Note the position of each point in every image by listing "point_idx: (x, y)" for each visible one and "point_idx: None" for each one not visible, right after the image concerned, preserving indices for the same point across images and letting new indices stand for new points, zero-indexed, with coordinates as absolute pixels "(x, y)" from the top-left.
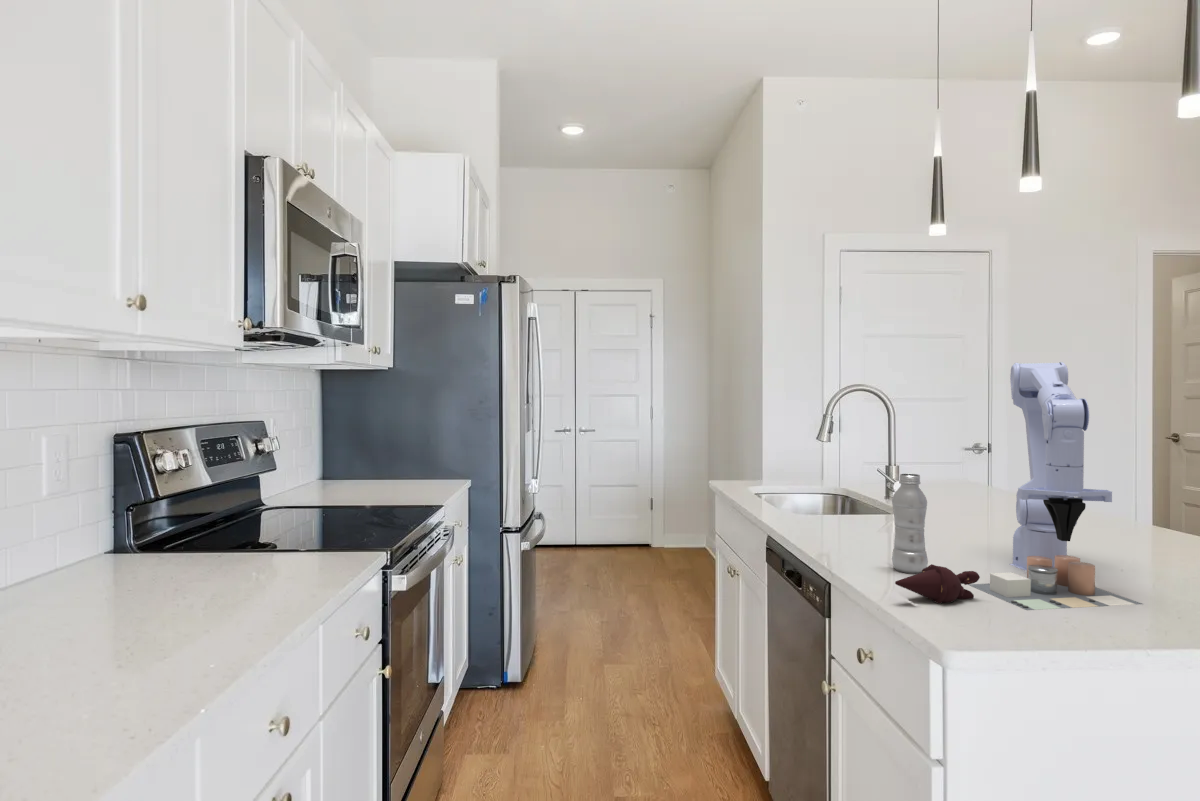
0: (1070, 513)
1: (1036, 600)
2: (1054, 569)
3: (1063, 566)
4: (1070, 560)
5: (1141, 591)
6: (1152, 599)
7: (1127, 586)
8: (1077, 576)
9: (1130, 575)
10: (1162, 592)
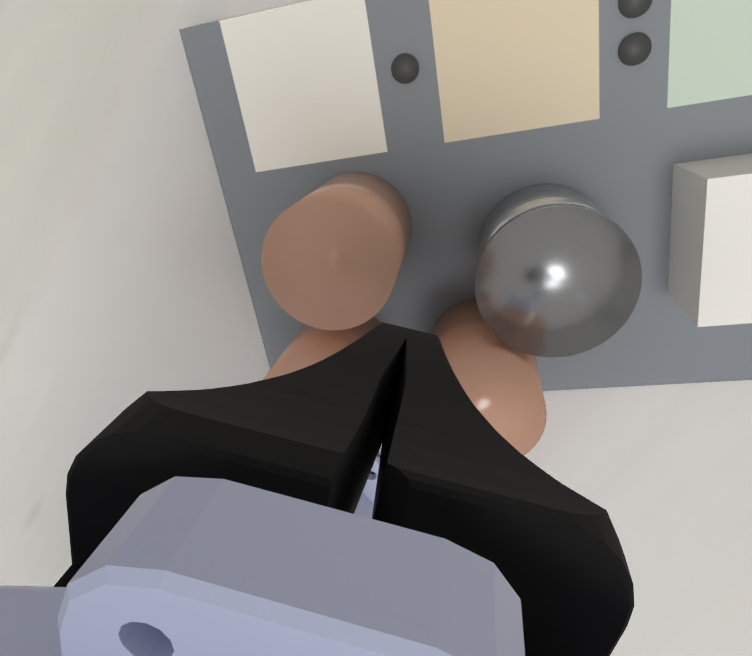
0: (360, 420)
1: (704, 80)
2: (509, 246)
3: None
4: None
5: (81, 274)
6: (90, 162)
7: (102, 339)
8: (387, 212)
9: (31, 459)
10: (11, 258)
